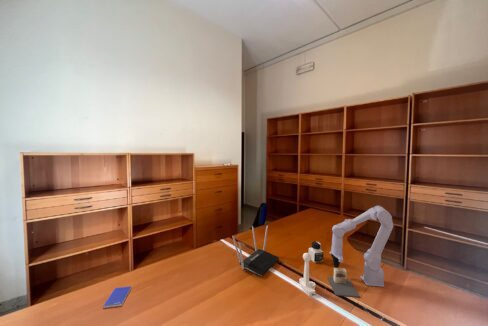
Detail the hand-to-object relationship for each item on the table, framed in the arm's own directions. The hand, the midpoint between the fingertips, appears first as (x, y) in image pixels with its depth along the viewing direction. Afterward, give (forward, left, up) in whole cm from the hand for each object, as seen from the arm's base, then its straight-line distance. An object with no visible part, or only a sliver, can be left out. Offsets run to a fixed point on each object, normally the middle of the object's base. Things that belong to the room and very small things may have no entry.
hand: (336, 267), depth 121 cm
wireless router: (+49, -7, -5) cm, 50 cm away
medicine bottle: (+8, -16, -5) cm, 19 cm away
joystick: (+19, +14, -5) cm, 24 cm away
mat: (0, +11, -5) cm, 12 cm away
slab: (0, +7, -4) cm, 8 cm away
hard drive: (+117, +33, -6) cm, 122 cm away
